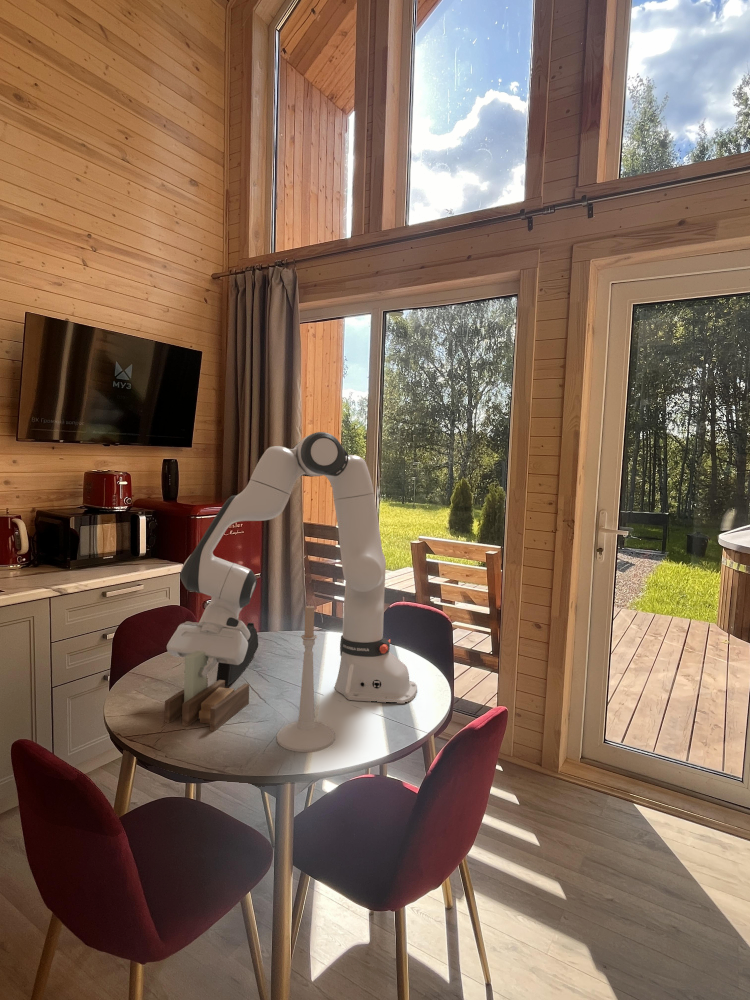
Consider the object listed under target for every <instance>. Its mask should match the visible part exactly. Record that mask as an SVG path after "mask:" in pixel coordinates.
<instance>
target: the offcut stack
mask: <svg viewBox="0 0 750 1000" xmlns="http://www.w3.org/2000/svg"><path fill="white" fill-rule="evenodd" d="M234 691H235V688H231V687H230V688H228V687H225V688H221V687H219V688H218V689H217V690H216V691H215V692H213V693H212V694H211V695H210V696H209V697H208V698H207V699H205V700H204V701H203V702H202V703H201V710H200V711H199V723H202V724H210V708H212V707H213V706H215V705H216V704H217V703H219V702H220V701H221V700H223V699H224V698H226V697H227V696H228V695H230V694H231V693H232V692H234Z"/></svg>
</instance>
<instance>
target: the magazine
mask: <svg viewBox="0 0 750 1000" xmlns="http://www.w3.org/2000/svg"><path fill="white" fill-rule="evenodd" d="M246 627H247V628H248V630H249V632H250V638H249V639H248V640H247V641H248V648H247V652H246V655H245V658H244V660H243V662H242V663H240V664H239V665H234V664H227V663H220V662H217V672H216V681H215V682H217V681H218V680H225V688H228V687H229V685H231V684H232V683H233V682H235V681H236V680H237V679H238V678H239V677H240V676H241V675H242V674H243V673H244V672H245V671H246V669H247V667H249V665H250V663H251V662H252V659H253V658H254V656H255V654H256V652H257V650H258V649H259V635H258V631H257V629H256V628H255V623H254V622H248V623H247V625H246Z"/></svg>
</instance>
